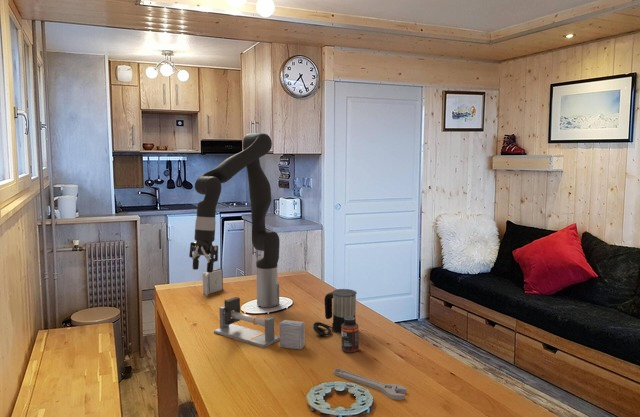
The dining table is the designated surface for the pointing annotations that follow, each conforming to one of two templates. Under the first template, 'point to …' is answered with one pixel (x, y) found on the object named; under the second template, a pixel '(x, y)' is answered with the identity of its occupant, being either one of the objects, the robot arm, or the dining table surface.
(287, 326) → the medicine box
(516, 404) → the dining table surface
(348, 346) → the supplement bottle
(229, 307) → the collar
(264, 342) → the pipe stand
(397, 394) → the adjustable wrench
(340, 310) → the milk frother
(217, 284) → the grey rectangular block
